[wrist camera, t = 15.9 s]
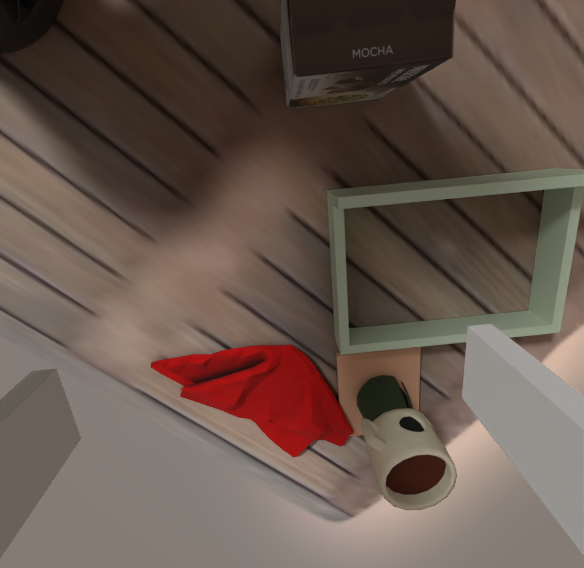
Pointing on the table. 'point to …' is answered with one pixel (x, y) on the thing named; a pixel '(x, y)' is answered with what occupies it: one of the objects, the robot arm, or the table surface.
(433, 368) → the table surface
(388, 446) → the character mug
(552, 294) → the frame
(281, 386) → the cloth
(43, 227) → the table surface
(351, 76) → the coffee box
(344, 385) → the terracotta tile
